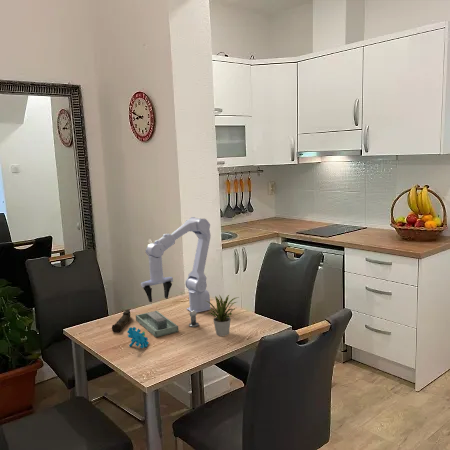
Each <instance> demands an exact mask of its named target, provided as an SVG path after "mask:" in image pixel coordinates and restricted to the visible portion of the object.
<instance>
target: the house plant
mask: <svg viewBox="0 0 450 450" xmlns="http://www.w3.org/2000/svg"><path fill="white" fill-rule="evenodd" d="M229 296H230V294H228V295H227V296H226V297H225V300H223V298H222V296H221V295H220V294H219V296H216V295H215V297H214V299H215V301H216V306H215V305H213V303H211V301H210V302H208V301H207V302H208V303H210V306H212V308H213V309H212V308H211V307H210V308H211V309H210V308H209V309H210V312H208V314H209V315H212V316H213V317H214V318H213V324H214V329H215V334H216V335H217V336H218V337H225V335H226V336H228V335H229V334H230V326H231V317H230V316H232V314H233V313H232V312H233V311H234V310H235V309H236V307H234V308H231V307H232V306H233V305H234V304H236V303H237V301H234V300H236V299H238V298H240V297H239V296H238V297H234V298H232V299H231V300H229ZM228 301H229V302H228ZM233 301H234V302H233ZM215 307H216V308H215ZM228 312H229V313H228Z"/></svg>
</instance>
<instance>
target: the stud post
mask: <svg viewBox="0 0 450 450" xmlns="http://www.w3.org/2000/svg"><path fill="white" fill-rule="evenodd" d="M197 314H198V313H196V311H194V310H193V311H189V316H190V323H188V327H189V328H198V327H200V324H199V322H197Z"/></svg>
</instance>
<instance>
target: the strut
mask: <svg viewBox="0 0 450 450" xmlns="http://www.w3.org/2000/svg"><path fill="white" fill-rule="evenodd" d="M155 311H156V310H154V312H153V311H150V312H149V313H148V312H145V313H146V314H147V322H148V323H149V324H150V325H152V326H153V327H154V328H155V329H157V330H162V329H166V328H167V320H166V319H165V318H163V317H162V316H161V315H159V314H158V313H157V312H155Z"/></svg>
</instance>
